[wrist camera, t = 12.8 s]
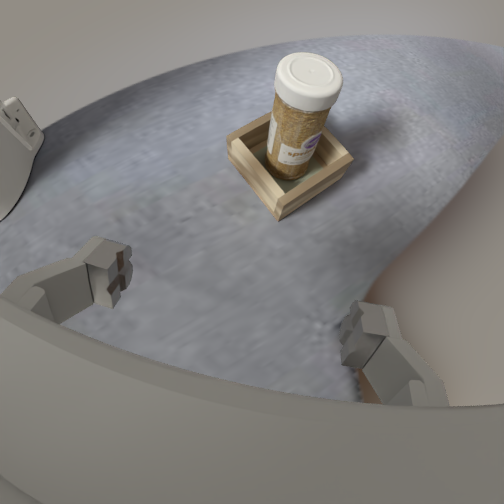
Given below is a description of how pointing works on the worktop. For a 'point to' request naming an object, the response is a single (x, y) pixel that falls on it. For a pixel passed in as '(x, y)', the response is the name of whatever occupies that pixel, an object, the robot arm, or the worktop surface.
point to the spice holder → (277, 190)
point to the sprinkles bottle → (300, 111)
